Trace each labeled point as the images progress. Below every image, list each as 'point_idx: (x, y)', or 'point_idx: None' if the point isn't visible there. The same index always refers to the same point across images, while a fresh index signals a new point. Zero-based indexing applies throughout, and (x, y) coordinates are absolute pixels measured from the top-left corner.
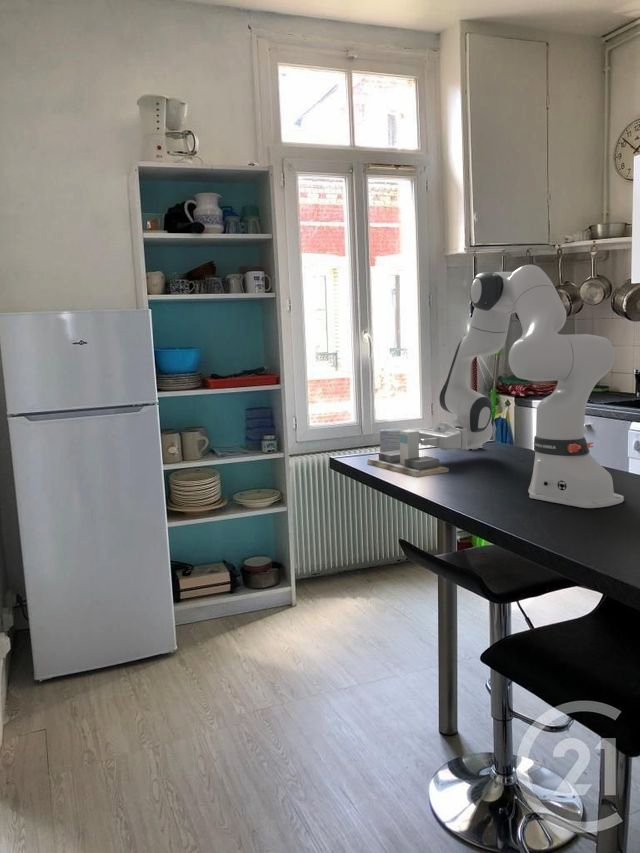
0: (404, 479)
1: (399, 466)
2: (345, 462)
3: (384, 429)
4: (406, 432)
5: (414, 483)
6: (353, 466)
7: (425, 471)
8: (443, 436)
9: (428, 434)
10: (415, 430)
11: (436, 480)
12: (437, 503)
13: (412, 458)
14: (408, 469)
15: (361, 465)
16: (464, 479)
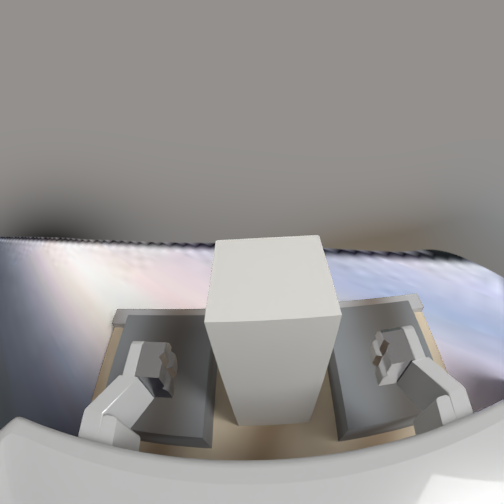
0: (133, 282)
1: None
2: (445, 267)
3: None
4: (235, 241)
5: (90, 277)
6: (383, 261)
7: (113, 349)
8: (25, 424)
9: (209, 460)
10: (468, 442)
11: (59, 330)
12: (18, 239)
13: (201, 348)
14: (159, 309)
15: (391, 282)
16: (9, 385)
